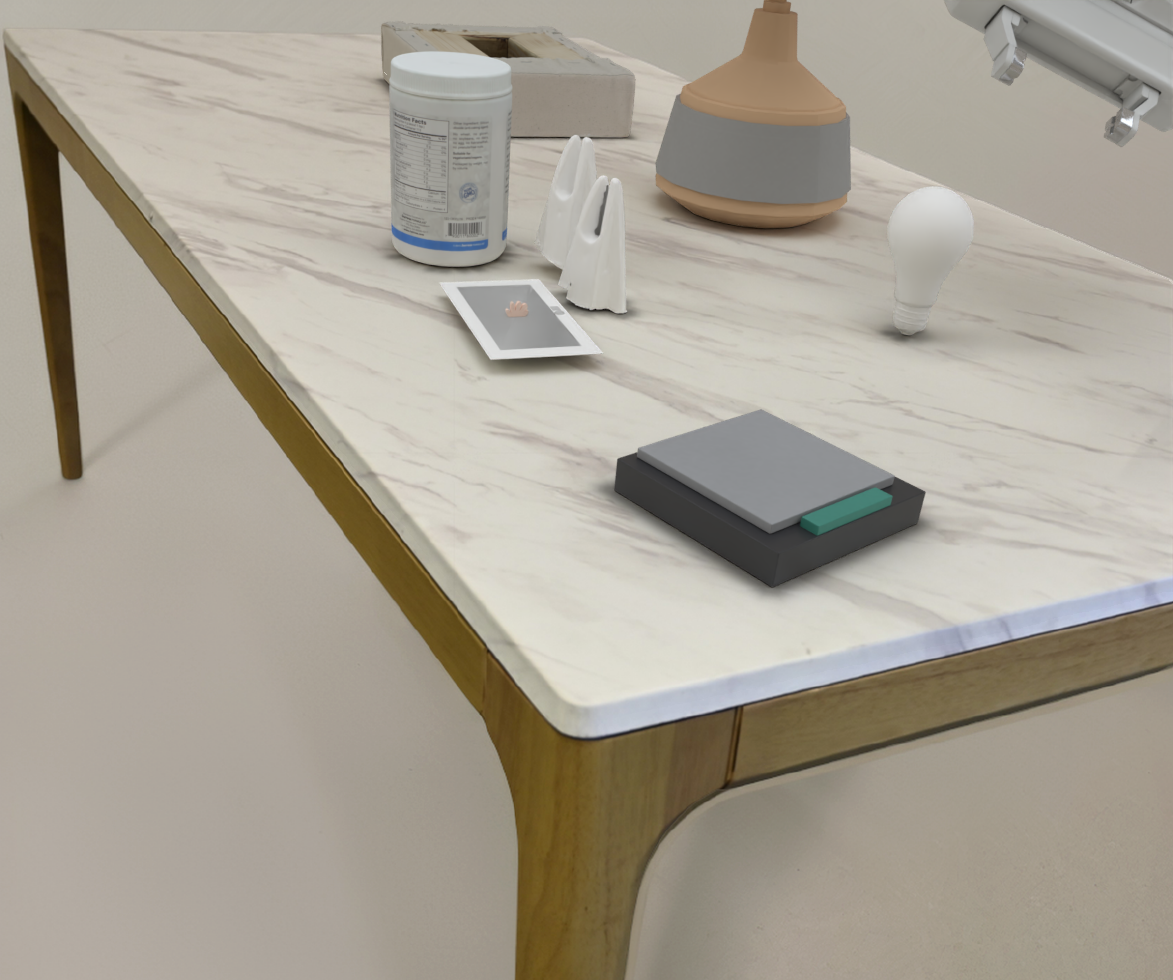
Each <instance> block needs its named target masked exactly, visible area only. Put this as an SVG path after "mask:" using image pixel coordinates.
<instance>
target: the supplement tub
mask: <svg viewBox="0 0 1173 980" xmlns="http://www.w3.org/2000/svg"><path fill="white" fill-rule="evenodd" d="M389 82H390V84H389V88H388V89H389V91H388V93H389V95H388V97H389V102H388V106H389V107H388V108H389V109H388V110H389V111H388V112H389V158H390V161H389V162H390V218H391V220H390V222H391V223H390V224H391V225H390V226H391V242H392V245H393V247H394V249H395V250H396V251H397V252H398V254H400V255H401V256H404V258H406V259H410V260H411V261H415V262H418V263H422V264H425V265H430V266H431V265H432V266H437V267H451V268H453V267H454V268H455V267H456V268H457V267H458V268H463V267H464V268H465V267H475V266H480V265H483V264H488V263H491V262H492V261H494V260H496V259H498V258H500V256H501V255H502V254H503V253H504V251H505V249H506V247H507V242H508V241H507V240H508V221H509V197H510V196H509V194H510V191H509V190H510V169H511V167H510V165H511V143H512V142H511V141H512V136H511V118H512V84H511V67H510V66H509V65H508V64H507V63H505V62H503V61H501V60H498V59H494V58H491V57H486V56H481V55H476V54H468V53H457V52H436V51H428V52H414V53H406V54H402V55H398V56H396V57H394V58H393V59H392V60H391V77H390V79H389Z"/></svg>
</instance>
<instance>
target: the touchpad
mask: <svg viewBox="0 0 1173 980" xmlns="http://www.w3.org/2000/svg"><path fill="white" fill-rule="evenodd" d="M438 284H439V285H440V287H441V288H442V290H443V291H444V293H445V294H446V296H447V297H448V299H449V300H450V301H451V304H452V305H453V306H454V308H455V309H456V311H457V312H458V314H459V315H460V317H461V318H462V319H463V321H464V322H465V324H466V326H467V328H468V329H469V330H470V331H471V333H472V335H473V336H474V337H475V339H476V341H477V342H478V343H479V345H480V347H481V348H482V350H483V351H484V353H485V354H486V355H487V357H488V359H489V360H491V361H495V360H513V359H531V358H548V357H549V358H550V357H551V358H552V357H570V356H587V355H603V354H604V352H603V351H602V350H601V349H600V348H599V346H598V345H597V344H596V343H595V342H594V341H593V340H592V338H591V337H590V336H589V335H588V333H587V332H586V331H585V330H584V329H583V328H582V327H581V325H580V324H579V323H578V322H577V321H576V320H575V318H573V316H572V315H571V314H570V313H569V311H567V309H566V308H565V307H564V306H563V305H562V304H561V303H560V301H559V300H558V299H557V298H556V297H555V296H554V295H553V293H551V291H550V290H549V288H547V286H546V285H545V284H544V283H543V282H542V280H540V279H539V278H531V279H529V278H528V279H500V280H498V279H497V280H496V279H495V280H472V281H471V280H470V281H441V282H438Z"/></svg>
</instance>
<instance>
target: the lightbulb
mask: <svg viewBox="0 0 1173 980" xmlns="http://www.w3.org/2000/svg"><path fill="white" fill-rule="evenodd" d="M974 234H975V220H974V214H973V213H972V210H971V208H970V206H969V204H968V203H967V201H966V200H965V199H964V198H963V197H962V196H961V195H960V194H959V193H957V192H956V191H954V190H952V189H950V188H947V187H943V186H937V185H936V186H924V187H921V188H918V189H915V190H913V191H910V193H908V194H907V195H906V196H904V197H903V198H902V199H901V200H900V201H899V202H898V203H897V204H896V205H895V206H894V208H893V210H892V212H891V214H890V217H889V219H888V222H887V227H886V240H887V244H888V247H889V252H890V255H891V257H892V261H893V265H894V272H895V283H894V292H893V297H894V299H895V302H894V303H895V304H894V308H893V313H892V325H893V326H894V327H895V328H896V329H897V330H899V333H900V334H902V335H904V336H913V335H914V334H916V333H919V332H922V331H924V330H925V329H926V327H927V324H928V319H929V317H930V314H931V310H932V307H933V306H934V305H935V304H936V302H937V299H938V297H939V293H940V290H941V288H942V286H943V284H944V282H945V280H946V279H947V278H948V275H949V274H950V273H951V272H952V270H953V269H954V268H955V267H956V266H957V265H958V263H959V262H960V261H961V260H962V259H963V258H964V256H965V255H966V253H967V252H968V251H969V248H970V246H971V245H972V243H973V239H974Z"/></svg>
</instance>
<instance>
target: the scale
mask: <svg viewBox="0 0 1173 980" xmlns="http://www.w3.org/2000/svg"><path fill="white" fill-rule="evenodd" d="M615 467H616V468H615V478H614V487H613V490H614V491H615V492H617V493H618V494H619V495H622V496H623V497H624V498H626V499H628V500H630V501H631V502H633V503H634V504H636V505H637V506H640V507H641V508H643V510H646V511H648V512H649V513H651V514H652V515H654V516H656V517H657V518H659V519H660V520H662V521H664V522H666V523H667V524H669V525H670V526H671V527H673V528H675V529H676V530H678V531H680V532H682V533H683V534H684V535H687V536H688V537H689V538H691V539H693V540H694V541H697V542H698V543H700V544H701V545H703V546H705V547H706V548H707V549H709V550H710V551H713V552H714V553H716V554H717V555H719V556H721V557H722V558H724V559H726V561H727V560H728V561H729V562H731V563H732V564H734V565H736V566H737V567H738V568H741V569H742V570H743V571H745V572H747V573H749V574H750V575H752V576H753V577H755V578H757V579H758V580H760V581H761V582H763V583H765V584H766V585H768V586H769V587H771V588H775V587H776V586H779V585H781V584H783V583H786V582H787V581H790V580H791V579H795V578H796V577H798V576H801V575H803V574H806V573H807V572H810V571H812V570H815V569H817V568H819V567H821V566H823V565H826V564H828V563H830V562H833V561H835V560H837V559H840V558H842V557H844V556H846V555H849V554H851V553H853V552H855V551H857V550H860V549H862V548H864V547H867V546H869V545H872V544H873V543H876V542H878V541H880V540H882V539H885V538H887V537H889V536H892V535H894V534H896V533H898V532H901V531H903V530H906V529H907V528H909V527H912V526H914V525H917V524H918V523H919V520H920V517H921V512H922V508H923V505H924V502H925V501H924V500H925V497H926V493H927V492H926V491H925V490H923V489H921V488H920V487H917V486H915V485H913V484H911V483H909V482H907V481H905V480H903V479H902V478H899V477H897V476H896V475H895V474H893V473H891V472H889V471H887V470H885V469H883V468H881V467H879V466H877V465H875V464H872V463H870V462H868V461H867V460H865V459H862V458H861V457H859V456H857V455H855V454H852V453H851V452H849V451H846V450H845V449H843V448H841V447H838V446H836V445H834V444H832V443H830V442H829V441H827V440H825V439H823V438H821V437H818V436H817V435H814V434H812V433H810V432H808V431H806V430H804V429H802V428H800V427H798V426H796V425H794V424H793V423H790V422H788V421H786V420H784V419H782V418H780V417H778V416H776V415H774V414H772V413H770V412H768V411H766V410H764V409H762V408H761V409H758V410H754V411H751V412H748V413H745V414H741V415H738V416H734V417H732V418H728V419H725V420H722V421H719V422H716V423H713V424H709V425H706V426H703V427H700V428H696V429H693V430H691V431H686V432H684V433H681V434H678V435H674V436H671V437H668V438H665V439H662V440H659V441H655V442H651V443H649V444H646V445H642V446H639V447H638V448H637V451H636V452H634V453H631V454H627V455H624V456H621V457H618V458H617V459H616V466H615Z"/></svg>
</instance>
